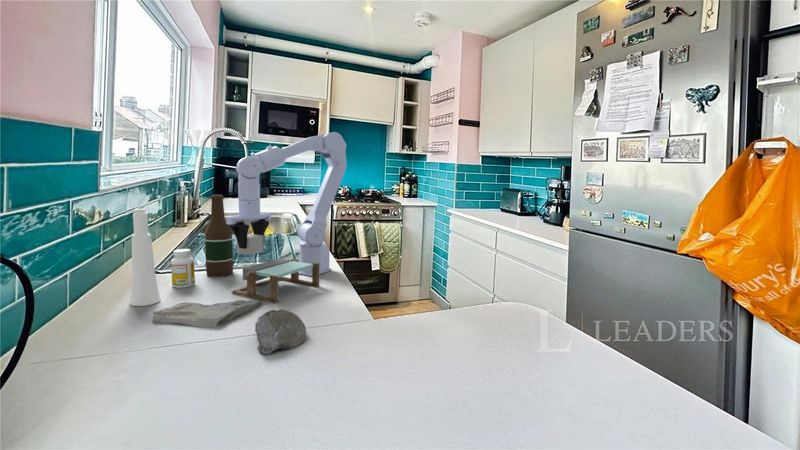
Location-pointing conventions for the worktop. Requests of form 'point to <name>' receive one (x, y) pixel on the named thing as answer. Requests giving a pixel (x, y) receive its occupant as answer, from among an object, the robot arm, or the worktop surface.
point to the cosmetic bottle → (142, 263)
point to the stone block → (252, 245)
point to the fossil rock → (203, 313)
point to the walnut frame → (274, 284)
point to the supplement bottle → (182, 269)
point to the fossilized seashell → (279, 331)
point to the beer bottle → (218, 241)
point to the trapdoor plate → (276, 268)
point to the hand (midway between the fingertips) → (250, 246)
